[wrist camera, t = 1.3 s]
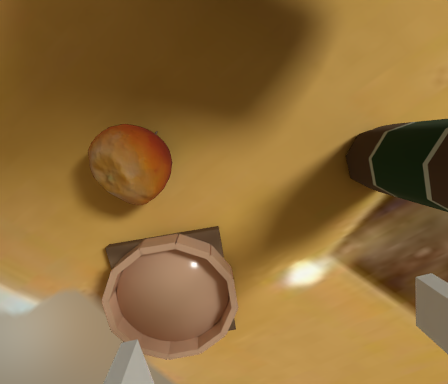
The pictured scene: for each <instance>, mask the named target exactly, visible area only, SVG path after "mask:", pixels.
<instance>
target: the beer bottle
mask: <svg viewBox="0 0 448 384" xmlns="http://www.w3.org/2000/svg"><path fill="white" fill-rule="evenodd" d="M346 159H347V164H348V168H349V173H350V177H351V179H353V180H355V181H357V182H359V183H361V184H363V185H365V186H366V187H368V188H371V189H373V190H376V191H378V192H382V193H385V194H388V195H392V196H395V197H399V198H402V199H405V200H409V201H412V202H416V203H419V204H422V205H426V206H429V207H433V208H436V209H440V210H443V211H446V212H448V119H441V120H431V121H420V122H410V123H400V124H392V125H386V126H381V127H378V128H375V129H373V130H370V131H367V132H364V133H361V134H359V135H358V136H357V138H356V140H355V141H354V143H353V145H352V146H351V148H350V150H349V152H348V153H347V155H346Z"/></svg>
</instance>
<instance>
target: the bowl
mask: <svg viewBox="0 0 448 384" xmlns="http://www.w3.org/2000/svg"><path fill="white" fill-rule="evenodd" d="M102 305H103V308H104V311H105V314H106V317H107V320H108V323H109V327H110V330H112V332H113V333H114V334H115V335H116V336H117V337H119V338H120V339H121V340H122V341H123V342H127V341H132V340H136V339H138V342H139V344H140V347H141V350H142V352H143V354H146V355H150V356H154V357H158V358H162V359H166V360H167V359H168V360H171V359H176V358H181V357H187V356H192V355H198V354H200V353H202V352H204V351H205V350H207V349H208V348H209V347H211V346H212V345H214V344H215V343H216V342H218V341H219V340H220V339H222V338H223V337H225V335H226V334H227V332H228V330H229V328H230V325H231V323H232V321H233V319H234V317H235V314H236V312H237V310H238V303H237V297H236V291H235V285H234V279H233V273H232V267H231V266H230V265H229V264H228V262H227V261H226V260H225V259H224V258H223V257H222V256H221V255H220V254H219V253H218V251H217V250H216V249H215V248H214V247H213V246H212V245H210V244H209V243H206V242H203V241H200V240H197V239H194V238H191V237H188V236H185V235H182V234H179V236H178V234H173V235H167V236H161V237H155V238H149V239H145V240H143V241H142V242H141V243H140V244H138V245H137V246H136V247H135V248H133V249H132V250H131V251H130V252H128V253H127V254H126V255H125V256H123V257H122V258H121V259H120V260H119V261H118V263H117V264H116V265H115V267H114V268H113V269H112V271H111V273H110V276H109V279H108V282H107V285H106V288H105V292H104V295H103V298H102Z"/></svg>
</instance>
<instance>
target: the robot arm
mask: <svg viewBox="0 0 448 384" xmlns="http://www.w3.org/2000/svg"><path fill="white" fill-rule="evenodd" d="M416 326H417V327H419V328H420V329H421V330H422V331H423V332H424V333H425V334H426V335H427V336H428V337H429V338H431V339H432V340H433V341H434V342H435V343H436V344H437V345H438V346H439V347H440V348H442V349H443V350H444V351H445V352H446V353H447V354H448V283H447V282H445V281H443V280H442V279H440V278H439V277H437V276H435V275H434V274H432V273H431V274H427V275H422V276H418V277H416ZM103 384H154V382H153V379H152V376H151V374H150V371H149V368H148V366H147V363H146V360H145V358H144V355H143V352H142V350H141V347H140V344H139V342H138V339H136V340H132V341H127V342H123V343H121V345H120V347H119V349H118V351H117V354H116V356H115V358H114V360H113V363H112V365H111V368H110V369H109V372H108V374H107V376H106V379H105V381H104V383H103Z"/></svg>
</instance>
